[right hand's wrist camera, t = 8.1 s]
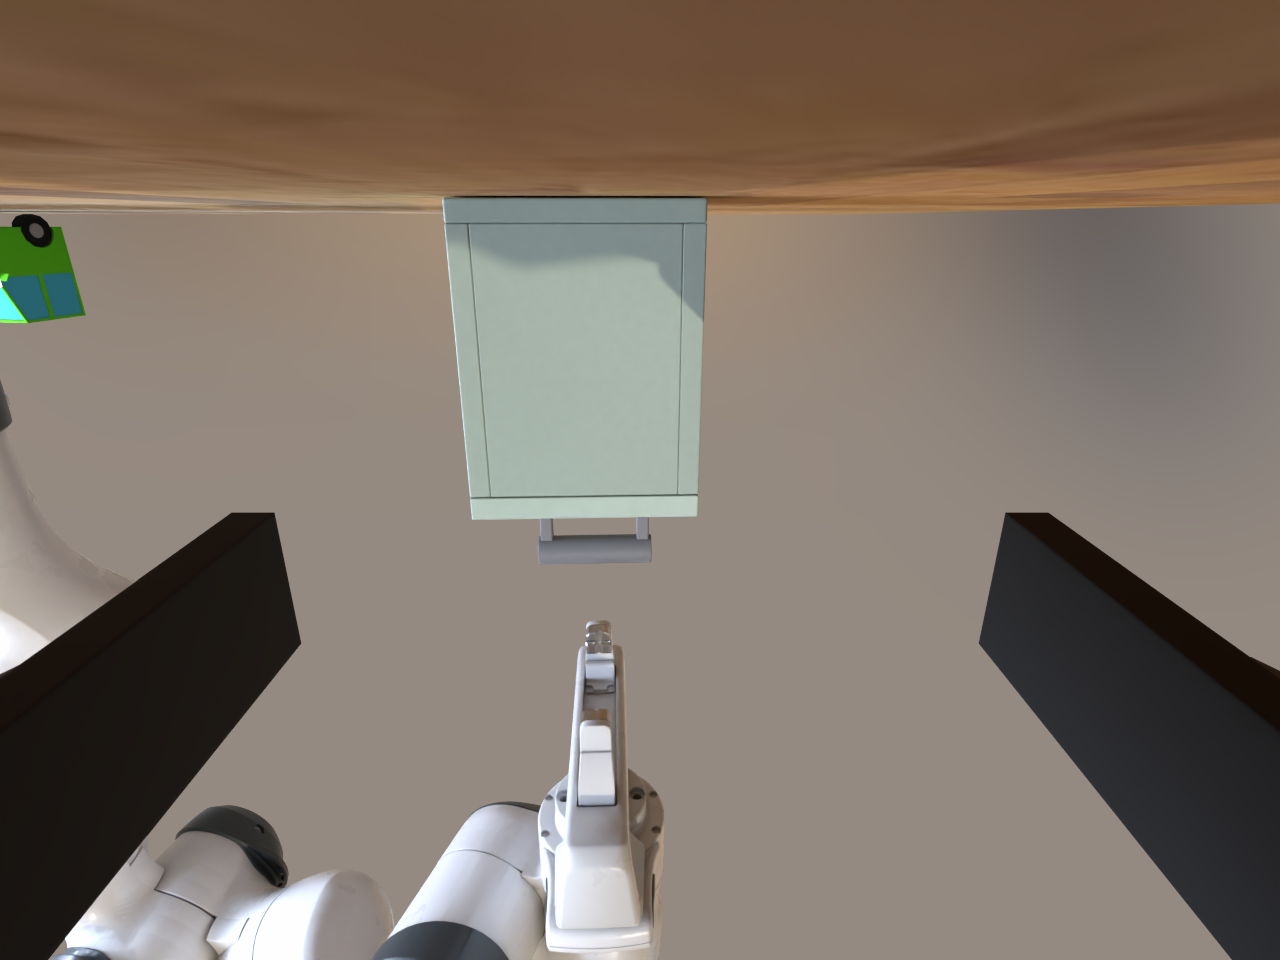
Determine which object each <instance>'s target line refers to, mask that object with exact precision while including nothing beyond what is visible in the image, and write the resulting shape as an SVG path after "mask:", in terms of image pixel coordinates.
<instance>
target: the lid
mask: <svg viewBox="0 0 1280 960" xmlns="http://www.w3.org/2000/svg"><path fill="white" fill-rule="evenodd" d="M470 501H471V512H472V519H473V520H479V519H540V533H541V536H539V540H538V560H539V564H588V563H589V564H590V563H646V562H651V554H652V551H651V535H650V534H649V517H674V516H697V515H698V494H658V495H588V496H518V497H491V496H490V497H471V499H470ZM609 517H636V534H626V535H563V536H554V534H553V518H609Z"/></svg>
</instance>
